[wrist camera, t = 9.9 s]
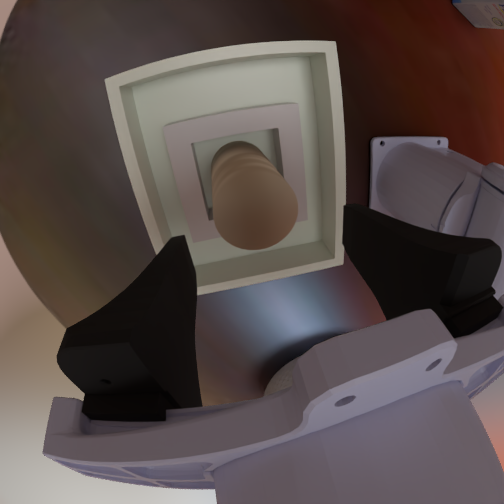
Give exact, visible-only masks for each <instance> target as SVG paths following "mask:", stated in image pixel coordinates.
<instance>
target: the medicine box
mask: <svg viewBox="0 0 504 504" xmlns="http://www.w3.org/2000/svg"><path fill="white" fill-rule="evenodd" d="M452 4H453V5H454V6H455V7H456V8H457V9H458V10H459V11H460V12H461V13H462V14H463V15H464V16H465V17H466V18H467V19H468V20H469V21H470V22H471V23H472V24H473V25H474V26H475V27H480V28H495V29H504V0H452Z"/></svg>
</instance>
